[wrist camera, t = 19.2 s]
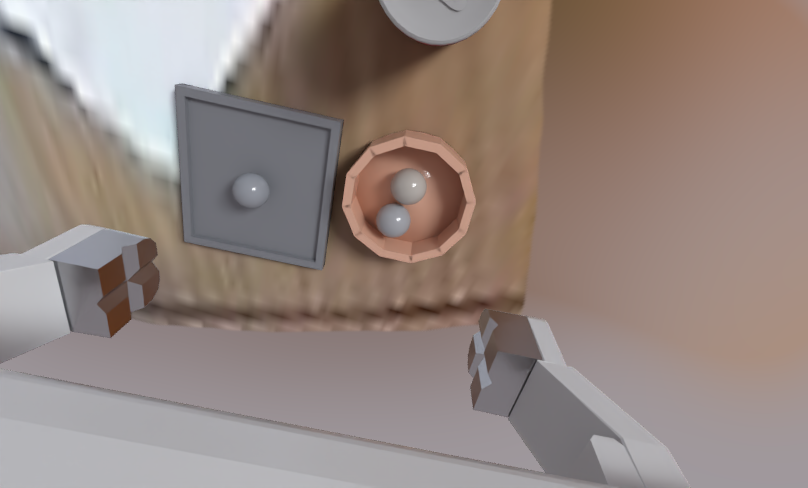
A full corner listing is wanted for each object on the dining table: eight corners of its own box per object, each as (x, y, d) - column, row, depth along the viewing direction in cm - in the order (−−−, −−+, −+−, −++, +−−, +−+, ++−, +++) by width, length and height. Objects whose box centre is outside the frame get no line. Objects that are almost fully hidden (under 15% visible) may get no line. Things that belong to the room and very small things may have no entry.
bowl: (343, 232, 41) (335, 247, 38) (360, 118, 36) (353, 124, 33) (452, 255, 42) (454, 272, 39) (485, 146, 36) (490, 155, 33)
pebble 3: (392, 192, 39) (370, 204, 36) (420, 206, 37) (398, 220, 35) (389, 220, 41) (367, 233, 38) (414, 234, 39) (393, 249, 37)
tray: (190, 236, 43) (184, 241, 42) (182, 83, 35) (174, 84, 34) (324, 264, 43) (321, 270, 42) (343, 119, 36) (340, 122, 35)
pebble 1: (241, 197, 39) (225, 209, 36) (241, 165, 38) (225, 175, 35) (274, 204, 40) (261, 217, 37) (275, 172, 38) (262, 183, 35)
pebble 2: (398, 159, 37) (390, 170, 34) (432, 169, 37) (427, 180, 34) (391, 192, 39) (383, 204, 36) (424, 201, 38) (419, 214, 35)
